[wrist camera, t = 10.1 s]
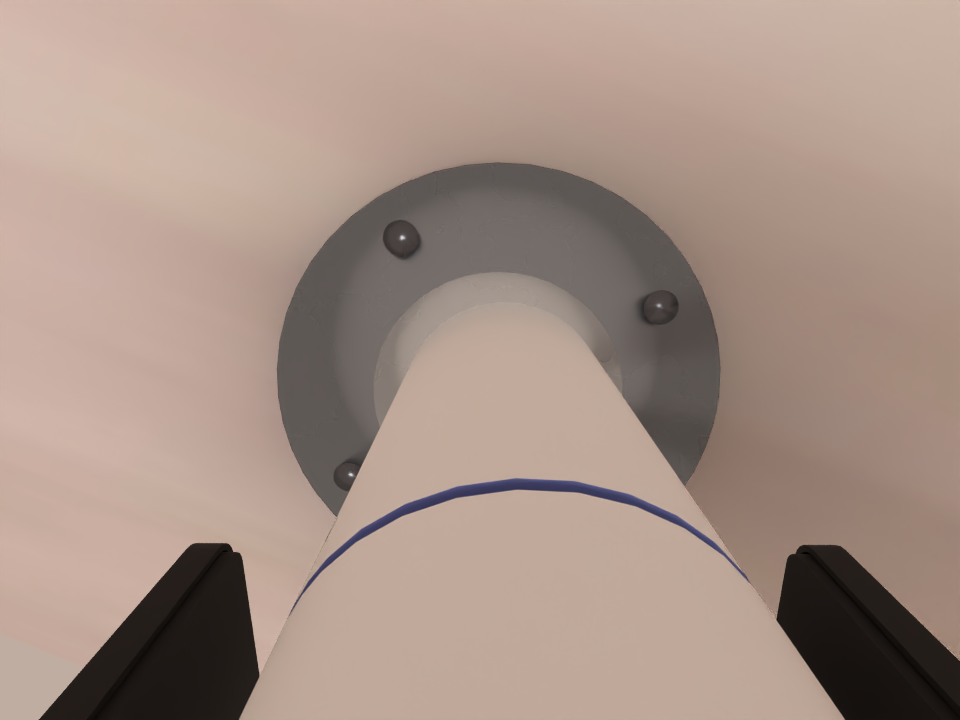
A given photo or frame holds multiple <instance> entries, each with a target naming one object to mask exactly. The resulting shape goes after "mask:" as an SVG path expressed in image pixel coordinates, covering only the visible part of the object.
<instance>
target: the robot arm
mask: <svg viewBox="0 0 960 720" xmlns="http://www.w3.org/2000/svg"><path fill="white" fill-rule="evenodd" d="M777 622H778V623H779V625H780V626H781V628H782V629H783V630H784V632H785V633H786V635H787V636H788V638H789V639H790V641H791V642H792V644H793V645H794V646H795V648H796V649H797V651H798V652H799V654H800V655H801V657H802V658H803V659H804V661H805V662H806V664H807V665H808V667H809V668H810V670H811V671H812V673H813V674H814V675H815V677H816V678H817V680H818V681H819V683H820V684H821V686H822V687H823V689H824V690H825V691H826V693H827V694H828V696H829V697H830V699H831V700H832V702H833V703H834V705H835V706H836V707H837V709H838V710H839V712H840V713H841V715H842V716H843V718H844V719H845V720H960V661H959V660H958V659H957V658H956V657H955V656H954V655H953V654H952V653H951V652H950V651H949V650H948V649H947V648H946V647H945V646H943V645H942V644H941V643H940V642H939V641H938V640H937V639H936V638H935V637H934V636H933V635H932V634H931V633H930V632H929V631H928V630H927V629H926V628H925V627H924V626H923V625H922V624H921V623H920V622H919V621H918V620H917V619H916V618H915V617H914V616H913V615H912V614H911V613H910V612H909V611H908V610H907V609H906V608H904V607H903V606H902V605H901V604H900V603H899V602H898V601H897V600H896V599H895V598H894V597H893V596H892V595H891V594H890V593H889V592H888V591H887V590H886V589H885V588H884V587H883V586H882V585H881V584H880V583H879V582H878V581H877V580H876V579H875V578H874V577H873V576H872V575H871V574H870V573H869V572H868V571H866V570H865V569H864V568H863V567H862V566H861V565H860V564H859V563H858V562H857V561H856V560H855V559H854V558H853V557H852V556H851V555H850V554H849V553H848V552H847V551H846V550H845V549H843V548H842V547H841V546H837V545H803V546H800V547H799V548H798V550H797V552H796V554H791V555H790V556H789V557H788V559H787V563H786V568H785V574H784V580H783V585H782V591H781V597H780V603H779V608H778V614H777ZM258 679H259V669H258V662H257V655H256V648H255V642H254V635H253V628H252V621H251V614H250V608H249V601H248V594H247V587H246V581H245V574H244V567H243V560H242V556H241V555H240V553H238V552H233V550H232V548H231V546H230V545H229V544H227V543H195V544H192V545H190V546H189V547H188V548H187V549H186V550H185V552H184V553H183V554H182V555H181V556H180V557H179V558H178V560H177V561H176V562H175V563H174V564H173V565H172V567H171V568H170V569H169V570H168V571H167V572H166V573H165V575H164V576H163V577H162V578H161V579H160V580H159V582H158V583H157V584H156V585H155V586H154V587H153V588H152V590H151V591H150V592H149V593H148V594H147V595H146V597H145V598H144V599H143V600H142V601H141V602H140V604H139V605H138V606H137V607H136V608H135V609H134V610H133V612H132V613H131V614H130V615H129V616H128V617H127V619H126V620H125V621H124V622H123V623H122V624H121V625H120V627H119V628H118V629H117V630H116V631H115V632H114V634H113V635H112V636H111V637H110V638H109V639H108V640H107V642H106V643H105V644H104V645H103V646H102V647H101V649H100V650H99V651H98V652H97V653H96V654H95V656H94V657H93V658H92V659H91V660H90V661H89V662H88V664H87V665H86V666H85V667H84V668H83V669H82V671H81V672H80V673H79V674H78V675H77V676H76V678H75V679H74V680H73V681H72V682H71V683H70V684H69V686H68V687H67V688H66V689H65V690H64V691H63V693H62V694H61V695H60V696H59V697H58V698H57V700H56V701H55V702H54V703H53V704H52V705H51V706H50V708H49V709H48V710H47V711H46V712H45V713H44V715H43V716H42V717H41V718H40V719H39V720H239V718H240V716H241V714H242V712H243V710H244V708H245V706H246V704H247V702H248V700H249V698H250V696H251V693H252V691H253V689H254V687H255V685H256V683H257V681H258Z"/></svg>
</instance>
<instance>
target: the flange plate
mask: <svg viewBox="0 0 960 720" xmlns="http://www.w3.org/2000/svg"><path fill="white" fill-rule="evenodd" d="M497 302H502V303H521V304H525V305H528V306H532V307H536V308H540V309H542V310H544V311H546V312H548V313H550V314H553V315H555V316H557V317H558V318H560V319H561V320H562V321H564V322H565V323H566V324H568V325H569V326H570V327H572V328H573V329H574V330H575V331H576V332H577V334H578V335H579V336H580V337H581V338H582V339H583V340H584V341H585V343H586V344H587V346H588V347H589V348H590V350H591V351H592V353H593V354H594V356H595V357H596V359H597V360H598V361H599V363H600V364H601V366H602V367H603V369H604V370H605V372H606V373H607V375H608V376H609V377H610V379H611V380H612V382H613V383H614V385H615V386H616V388H617V389H618V390H619V392H620V393H621V395H622V396H623V398H624V399H625V401H626V402H627V404H628V405H629V406H630V408H631V409H632V411H633V412H634V414H635V415H636V417H637V418H638V420H639V421H640V422H641V424H642V425H643V427H644V428H645V430H646V431H647V433H648V434H649V436H650V437H651V438H652V440H653V441H654V443H655V444H656V446H657V447H658V449H659V450H660V452H661V453H662V454H663V456H664V457H665V459H666V460H667V462H668V463H669V465H670V466H671V468H672V469H673V470H674V472H675V473H676V475H677V476H678V478H679V479H680V481H681V482H682V484H683V485H684V486H685V484H686V483H687V481H688V480H689V478H690V477H691V475H692V474H693V472H694V470H695V468H696V466H697V464H698V462H699V460H700V458H701V456H702V454H703V452H704V450H705V447H706V444H707V441H708V438H709V435H710V432H711V429H712V427H713V424H714V419H715V414H716V409H717V403H718V398H719V385H720V358H719V347H718V339H717V334H716V330H715V326H714V321H713V317H712V313H711V310H710V308H709V305H708V302H707V300H706V297H705V295H704V292H703V290H702V287H701V285H700V283H699V281H698V280H697V278H696V276H695V274H694V273H693V271H692V269H691V267H690V265H689V264H688V262H687V260H686V259H685V258H684V256H683V255H682V254H681V252H680V251H679V250H678V249H677V247H676V246H675V245H674V243H673V242H672V241H671V240H670V238H669V237H668V236H667V235H666V234H665V233H664V232H663V231H662V230H661V229H660V228H659V227H658V226H657V225H656V224H655V223H654V222H653V221H652V220H651V219H650V218H649V217H648V216H646V215H645V214H644V213H643V212H641V211H640V210H638V209H637V208H636V207H634V206H633V205H631V204H630V203H629V202H627V201H626V200H625V199H623V198H622V197H620V196H618V195H616V194H615V193H613V192H611V191H609V190H607V189H605V188H603V187H601V186H599V185H597V184H595V183H594V182H591V181H588V180H586V179H583V178H580V177H577V176H574V175H572V174H569V173H566V172H563V171H559V170H554V169H549V168H544V167H539V166H534V165H527V164H511V163H487V164H474V165H464V166H460V167H455V168H451V169H446V170H441V171H437V172H433V173H430V174H428V175H425V176H422V177H420V178H417V179H414V180H411V181H409V182H406V183H404V184H402V185H400V186H398V187H396V188H394V189H392V190H391V191H389V192H387V193H385V194H383V195H381V196H379V197H378V198H376V199H375V200H373V201H372V202H370V203H369V204H368V205H366V206H365V207H364V208H362V209H361V210H360V211H358V212H357V213H355V214H354V215H353V216H351V217H350V218H349V219H348V220H347V221H346V222H345V223H344V224H343V225H342V226H341V227H340V228H339V229H338V230H337V231H336V232H335V233H334V234H333V235H332V236H331V237H330V238H329V239H328V240H327V242H326V243H325V244H324V246H323V247H322V248H321V249H320V251H319V252H318V253H317V255H316V256H315V257H314V259H313V260H312V261H311V263H310V264H309V266H308V268H307V270H306V272H305V273H304V275H303V277H302V279H301V280H300V282H299V284H298V286H297V288H296V290H295V293H294V295H293V298H292V300H291V303H290V305H289V308H288V311H287V313H286V317H285V321H284V325H283V329H282V333H281V338H280V342H279V353H278V364H277V380H278V398H279V403H280V409H281V414H282V420H283V424H284V427H285V430H286V433H287V436H288V439H289V443H290V446H291V449H292V451H293V453H294V455H295V457H296V459H297V461H298V463H299V465H300V467H301V469H302V471H303V473H304V475H305V476H306V478H307V479H308V481H309V482H310V484H311V486H312V487H313V489H314V490H315V492H316V493H317V495H318V496H319V497H320V498H321V499H322V501H323V502H324V503H325V504H326V505H327V507H328V508H329V509H330V510H331V511H332V512H333V514H334V515H335V516H336V517H337V516H338V514H339V512H340V510H341V508H342V506H343V504H344V501H345V499H346V497H347V495H348V493H349V491H350V489H351V487H352V485H353V483H354V481H355V479H356V477H357V475H358V472H359V470H360V468H361V466H362V464H363V462H364V460H365V458H366V456H367V454H368V452H369V450H370V448H371V446H372V444H373V441H374V439H375V437H376V435H377V433H378V431H379V429H380V427H381V425H382V423H383V421H384V419H385V417H386V415H387V412H388V410H389V408H390V406H391V404H392V402H393V400H394V398H395V396H396V394H397V392H398V390H399V388H400V386H401V384H402V381H403V379H404V377H405V375H406V373H407V371H408V369H409V367H410V365H411V363H412V361H413V359H414V357H415V355H416V353H417V350H418V349H419V348H420V346H421V345H422V343H423V342H424V341H425V339H426V338H427V337H428V335H429V334H431V333H432V332H433V331H434V330H435V329H436V328H437V327H438V326H439V325H440V324H441V323H443V322H444V321H446V320H448V319H449V318H451V317H452V316H454V315H456V314H457V313H459V312H462V311H465V310H467V309H470V308H473V307H475V306H478V305H485V304H491V303H497Z"/></svg>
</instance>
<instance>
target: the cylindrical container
mask: <svg viewBox="0 0 960 720" xmlns="http://www.w3.org/2000/svg"><path fill="white" fill-rule="evenodd" d="M239 720H845V719H844V718H843V716H842V715H841V713H840V712H839V710H838V709H837V707H836V706H835V705H834V703H833V702H832V700H831V699H830V697H829V696H828V694H827V693H826V691H825V690H824V689H823V687H822V686H821V684H820V683H819V681H818V680H817V678H816V677H815V675H814V674H813V673H812V671H811V670H810V668H809V667H808V665H807V664H806V662H805V661H804V659H803V658H802V657H801V655H800V654H799V652H798V651H797V649H796V648H795V646H794V645H793V644H792V642H791V641H790V639H789V638H788V636H787V635H786V633H785V632H784V630H783V629H782V628H781V626H780V625H779V623H778V622H777V620H776V619H775V617H774V616H773V614H772V613H771V612H770V610H769V609H768V607H767V606H766V604H765V603H764V601H763V600H762V598H761V597H760V596H759V594H758V593H757V591H756V590H755V589H754V587H753V586H752V585H751V584H750V582H749V581H748V579H747V577H746V575H745V574H744V572H743V571H742V569H741V568H740V567H739V565H738V564H737V562H736V561H735V559H734V558H733V556H732V555H731V553H730V552H729V551H728V549H727V548H726V546H725V545H724V543H723V542H722V540H721V539H720V537H719V536H718V534H717V533H716V532H715V530H714V529H713V527H712V526H711V524H710V523H709V521H708V520H707V518H706V517H705V516H704V514H703V513H702V511H701V510H700V508H699V507H698V505H697V504H696V502H695V501H694V500H693V498H692V497H691V495H690V494H689V492H688V491H687V489H686V488H685V486H684V485H683V484H682V482H681V481H680V479H679V478H678V476H677V475H676V473H675V472H674V470H673V469H672V468H671V466H670V465H669V463H668V462H667V460H666V459H665V457H664V456H663V454H662V453H661V452H660V450H659V449H658V447H657V446H656V444H655V443H654V441H653V440H652V438H651V437H650V436H649V434H648V433H647V431H646V430H645V428H644V427H643V425H642V424H641V422H640V421H639V420H638V418H637V417H636V415H635V414H634V412H633V411H632V409H631V408H630V406H629V405H628V404H627V402H626V401H625V399H624V398H623V396H622V395H621V393H620V392H619V390H618V389H617V388H616V386H615V385H614V383H613V382H612V380H611V379H610V377H609V376H608V375H607V373H606V372H605V370H604V369H603V367H602V366H601V364H600V363H599V361H598V360H597V359H596V357H595V356H594V354H593V353H592V351H591V350H590V348H589V347H588V346H587V344H586V343H585V341H584V340H583V339H582V338H581V337H580V336H579V335H578V334H577V332H576V331H575V330H574V329H573V328H572V327H570V326H569V325H568V324H566V323H565V322H564V321H562V320H561V319H560V318H558V317H557V316H555V315H553V314H550V313H548V312H546V311H544V310H542V309H540V308H536V307H532V306H528V305H525V304H521V303H502V302H497V303H491V304H485V305H478V306H475V307H473V308H470V309H467V310H465V311H462V312H459V313H457V314H456V315H454V316H452V317H451V318H449V319H448V320H446V321H444V322H443V323H441V324H440V325H439V326H438V327H437V328H436V329H435V330H434V331H433V332H432V333H431V334H429V335H428V337H427V338H426V339H425V341H424V342H423V343H422V345H421V346H420V348H419V349H418V350H417V353H416V355H415V357H414V359H413V361H412V363H411V365H410V367H409V369H408V371H407V373H406V375H405V377H404V379H403V381H402V384H401V386H400V388H399V390H398V392H397V394H396V396H395V398H394V400H393V402H392V404H391V406H390V408H389V410H388V412H387V415H386V417H385V419H384V421H383V423H382V425H381V427H380V429H379V431H378V433H377V435H376V437H375V439H374V441H373V444H372V446H371V448H370V450H369V452H368V454H367V456H366V458H365V460H364V462H363V464H362V466H361V468H360V470H359V472H358V475H357V477H356V479H355V481H354V483H353V485H352V487H351V489H350V491H349V493H348V495H347V497H346V499H345V501H344V504H343V506H342V508H341V510H340V512H339V514H338V516H337V518H336V520H335V522H334V524H333V526H332V528H331V530H330V532H329V535H328V537H327V539H326V541H325V544H324V545H323V547H322V549H321V551H320V553H319V555H318V557H317V559H316V561H315V563H314V565H313V567H312V570H311V572H310V574H309V576H308V578H307V580H306V582H305V584H304V586H303V588H302V590H301V592H300V594H299V596H298V598H297V600H296V602H295V604H294V606H293V608H292V610H291V613H290V615H289V617H288V619H287V621H286V623H285V625H284V627H283V629H282V631H281V633H280V635H279V637H278V640H277V642H276V644H275V646H274V648H273V650H272V652H271V654H270V656H269V658H268V660H267V662H266V664H265V666H264V669H263V671H262V673H261V675H260V677H259V679H258V681H257V683H256V685H255V687H254V689H253V691H252V693H251V696H250V698H249V700H248V702H247V704H246V706H245V708H244V710H243V712H242V714H241V716H240V718H239Z"/></svg>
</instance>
